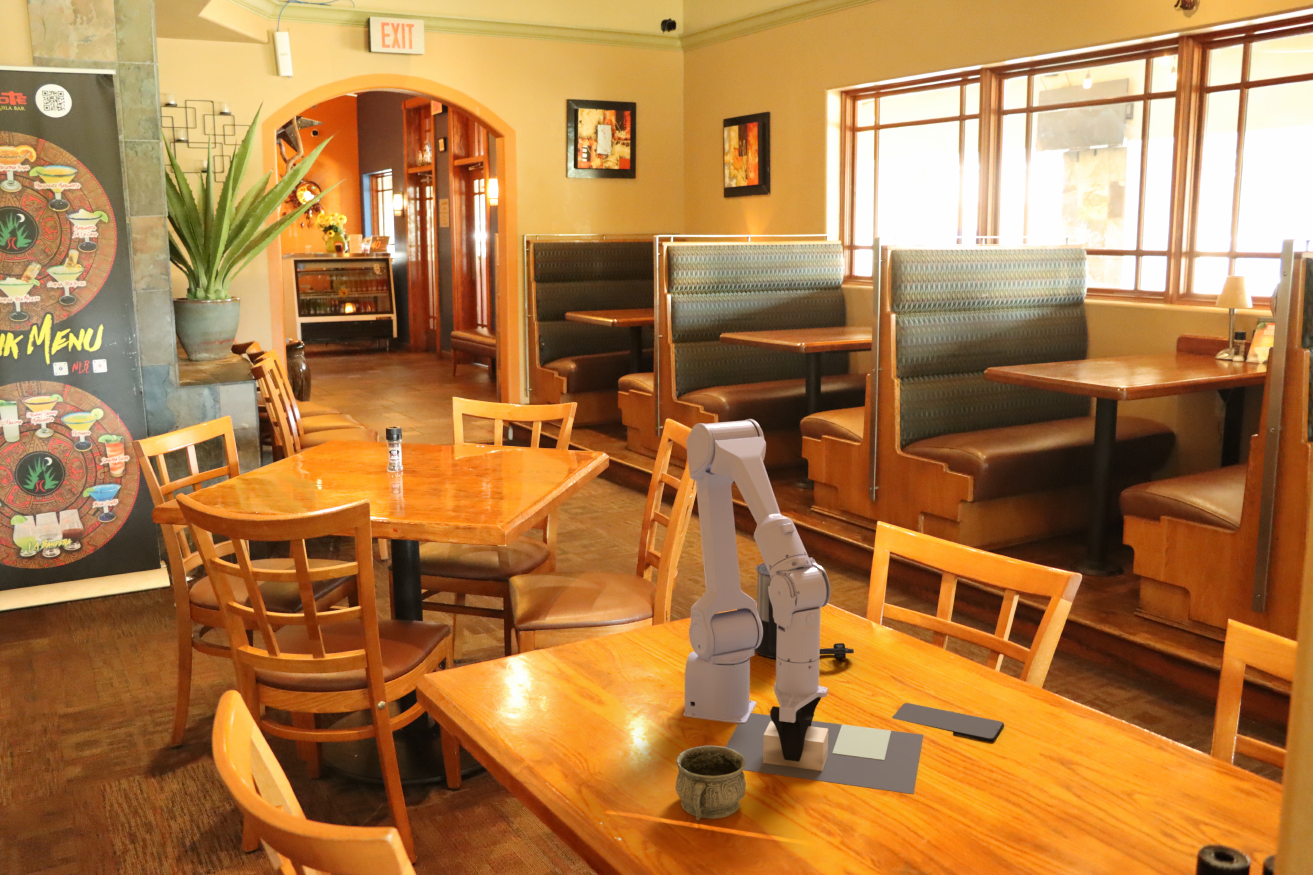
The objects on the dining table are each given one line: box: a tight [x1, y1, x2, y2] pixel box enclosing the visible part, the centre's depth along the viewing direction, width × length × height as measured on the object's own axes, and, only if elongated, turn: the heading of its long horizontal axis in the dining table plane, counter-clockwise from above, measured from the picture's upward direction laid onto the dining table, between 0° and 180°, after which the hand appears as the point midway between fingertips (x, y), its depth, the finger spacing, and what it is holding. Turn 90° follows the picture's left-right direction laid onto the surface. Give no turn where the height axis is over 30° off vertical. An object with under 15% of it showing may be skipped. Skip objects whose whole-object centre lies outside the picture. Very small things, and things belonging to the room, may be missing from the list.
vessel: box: [674, 745, 747, 821], centre depth 136 cm, size 12×9×6 cm
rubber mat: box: [724, 712, 924, 795], centre depth 151 cm, size 26×18×1 cm
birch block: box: [763, 721, 828, 771], centre depth 148 cm, size 8×4×4 cm, turn 73°
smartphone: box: [891, 702, 1005, 744], centre depth 161 cm, size 7×1×15 cm
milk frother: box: [754, 562, 855, 660], centre depth 186 cm, size 14×16×15 cm
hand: (795, 750), depth 148 cm, fingers open, 5 cm apart
